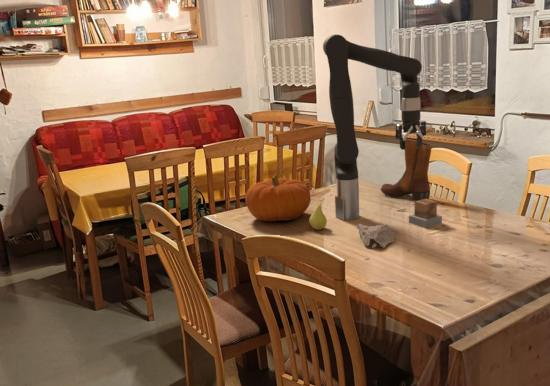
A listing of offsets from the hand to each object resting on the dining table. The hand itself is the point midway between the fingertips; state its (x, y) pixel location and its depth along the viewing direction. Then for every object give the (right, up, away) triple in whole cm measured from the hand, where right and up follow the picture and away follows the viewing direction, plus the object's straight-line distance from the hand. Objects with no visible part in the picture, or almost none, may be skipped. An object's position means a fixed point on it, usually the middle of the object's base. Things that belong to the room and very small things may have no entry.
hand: (411, 147), depth 229 cm
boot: (+5, -21, +31) cm, 37 cm away
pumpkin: (-54, -30, +12) cm, 63 cm away
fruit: (-39, -33, -5) cm, 51 cm away
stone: (-19, -37, -22) cm, 47 cm away
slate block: (+4, -31, -7) cm, 32 cm away
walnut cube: (+4, -28, -8) cm, 29 cm away
